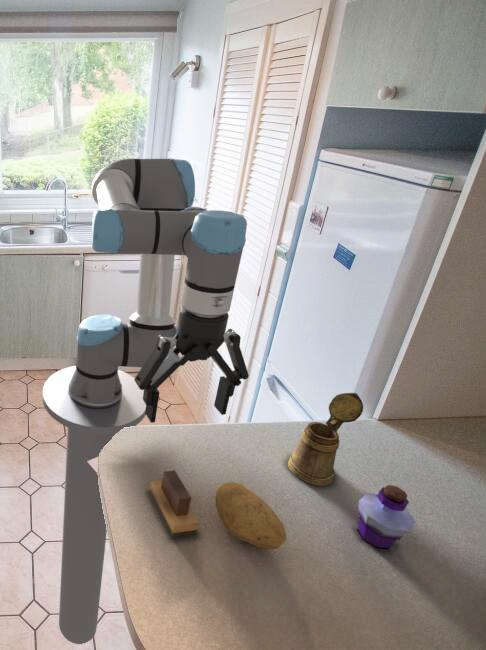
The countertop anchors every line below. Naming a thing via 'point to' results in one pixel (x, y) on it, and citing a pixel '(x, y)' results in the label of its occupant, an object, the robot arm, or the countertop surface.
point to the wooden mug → (324, 441)
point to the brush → (174, 505)
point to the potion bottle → (384, 517)
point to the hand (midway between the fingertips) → (185, 414)
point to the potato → (249, 516)
